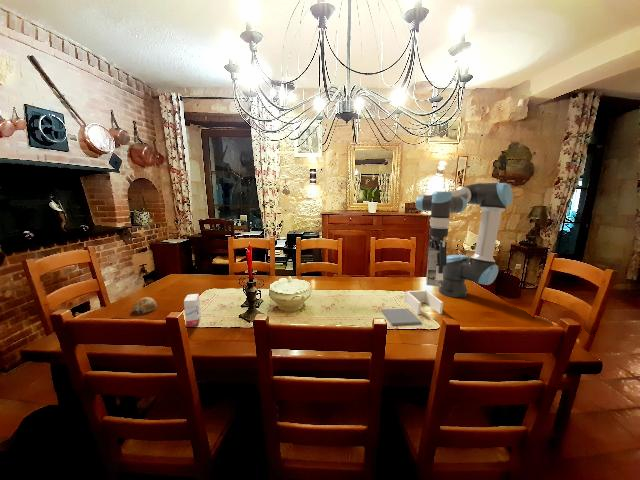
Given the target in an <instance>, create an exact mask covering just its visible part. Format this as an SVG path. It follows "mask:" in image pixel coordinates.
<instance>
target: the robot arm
mask: <svg viewBox="0 0 640 480" xmlns="http://www.w3.org/2000/svg"><path fill="white" fill-rule="evenodd" d="M513 196H514V193H513V189H512V187H511V185H510V184H509V183H507V182H485V183H484V182H483V183H481V182H479V183H478V182H477V183H473V184H472V183H471V184H467V185H464V186H460V187H457V188H456V189H454V190H448V191H434V192H433V194H429V195H425V194H424V195H419V196H418V195H417V197H416V199H415V204H414V205H415V208H416V210H418V211H420V212H421V211H422V212H430V219H429V222H430V223H429V226H430V227H429V230H428V234H429V239H428V240H429V241H428V247H427V251H426V257H428V252H429V247H431V248H435V250H439V253H437V262H438V264H436V266H437V267H436V278H435V280H442V287H438V292H439V293H440V294H441V295H443V296H446V297H451V298H460V299H461V298H466V297H467V295H468V289H467V286H466V281H470V282H474V283H477V284H479V285H480V284H481V285H485V286H488V285H491V284H492V283H494V282H495V280H496V278H497V276H498V274H499V266H498V265H497V264H496V260H495V259H494V257H493V256H494V251H495V246H496V242H497V237H498V231H499V226H500V221H501V217H502V216H501V215H502V213H503V212H504V211H506V209H507V207H509V206H511V204H512V202H513V199H514V198H513ZM467 205H479V209H480V210H481V216H480V223H479V227H478V232H477V238H476V243H475V249H474V253H473V255H471V256H470V258H469V256H468V255H465V254H450V255H449V254H448V255H447V247H448V246H447V245H448V242H447V241H444V240H445V239H444V238H447V237H448V236H449V227H450V217H451V216H450V215H451V214H458V213H462V212H464V211H465V210H466V208H467Z"/></svg>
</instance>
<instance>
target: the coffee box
mask: <svg viewBox="0 0 640 480" xmlns="http://www.w3.org/2000/svg"><path fill="white" fill-rule="evenodd" d="M437 253H439V250H435V248H431V247H429V252H428V256H427V264H426V265H427V266H426V279H425V281H426V282H425V284H426V286H430V287H438V288H439V287H442V280H443V279H442V280H435V278H436V267H437V266H436V264H438V262H437Z"/></svg>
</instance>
